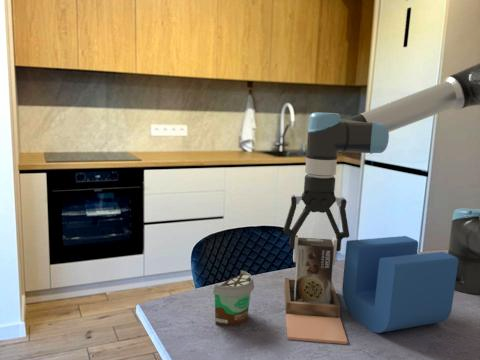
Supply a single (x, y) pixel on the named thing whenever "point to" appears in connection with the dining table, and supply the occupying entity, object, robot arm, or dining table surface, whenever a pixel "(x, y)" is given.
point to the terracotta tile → (315, 329)
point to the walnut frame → (310, 308)
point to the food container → (233, 300)
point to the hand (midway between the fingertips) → (313, 261)
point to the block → (397, 283)
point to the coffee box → (313, 270)
